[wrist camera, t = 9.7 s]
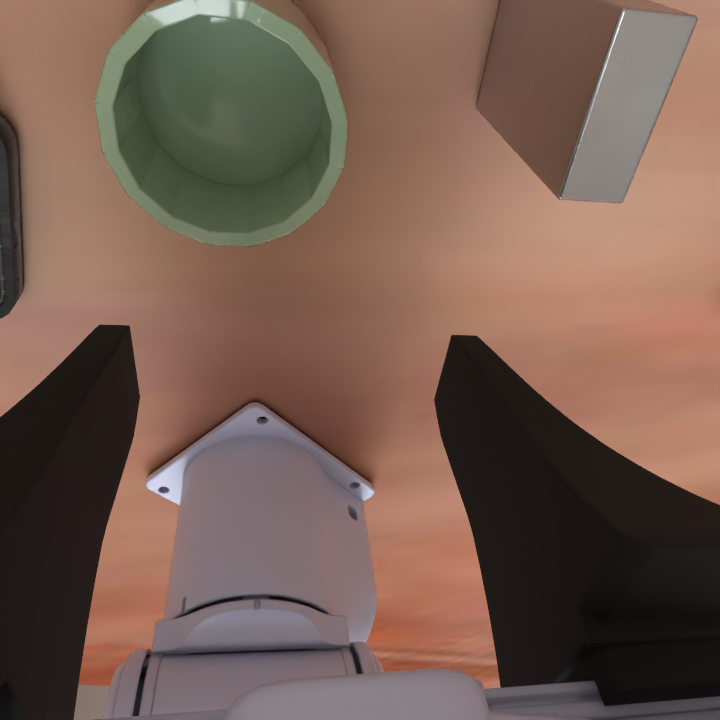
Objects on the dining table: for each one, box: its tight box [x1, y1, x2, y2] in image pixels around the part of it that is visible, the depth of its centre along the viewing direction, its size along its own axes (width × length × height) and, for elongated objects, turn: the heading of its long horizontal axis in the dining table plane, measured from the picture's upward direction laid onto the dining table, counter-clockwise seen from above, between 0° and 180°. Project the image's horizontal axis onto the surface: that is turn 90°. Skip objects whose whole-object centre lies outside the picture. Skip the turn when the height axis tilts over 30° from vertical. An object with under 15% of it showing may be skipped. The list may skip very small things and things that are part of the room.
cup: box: [94, 0, 348, 246], centre depth 18 cm, size 6×6×4 cm
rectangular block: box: [477, 0, 698, 203], centre depth 16 cm, size 2×4×8 cm, turn 173°
